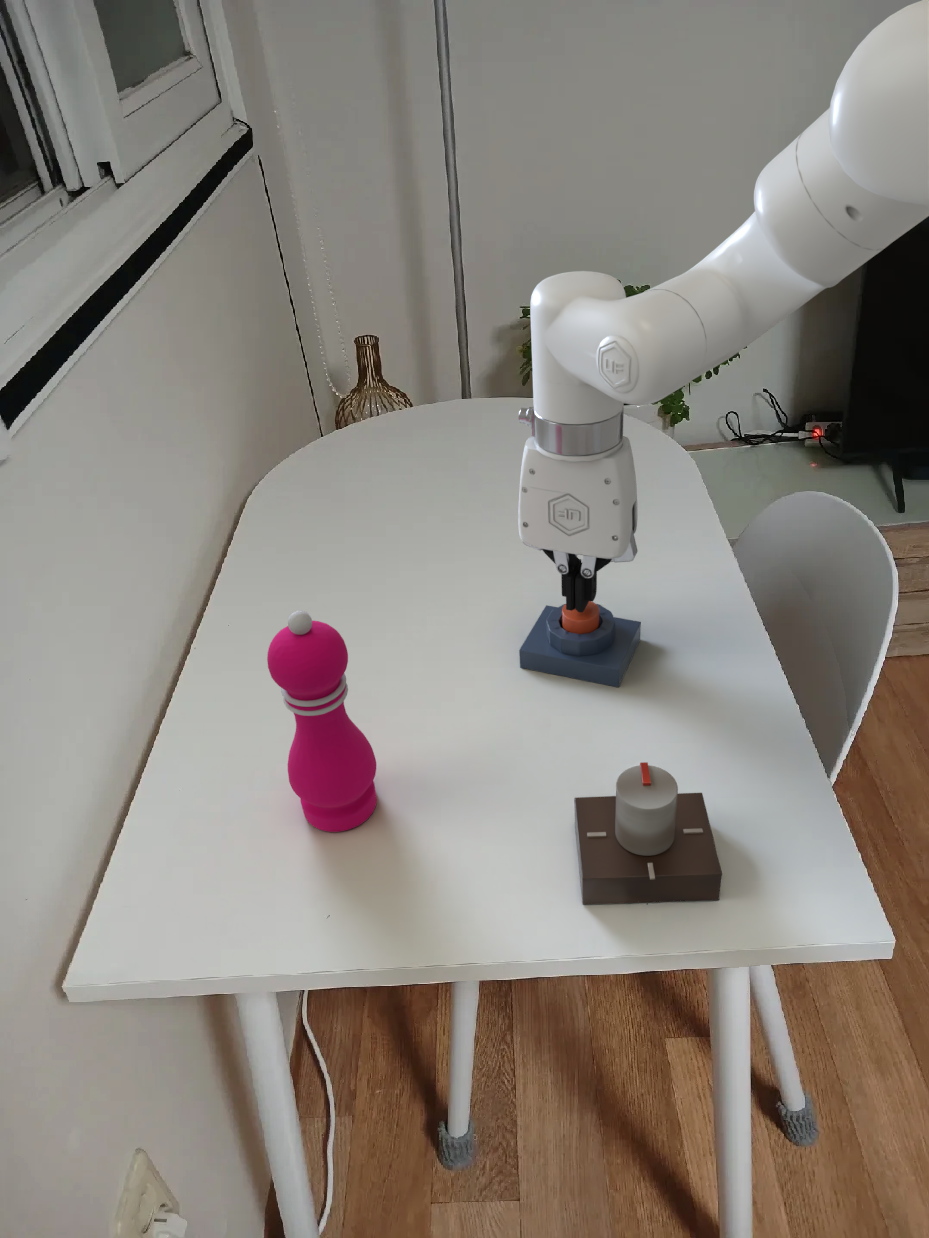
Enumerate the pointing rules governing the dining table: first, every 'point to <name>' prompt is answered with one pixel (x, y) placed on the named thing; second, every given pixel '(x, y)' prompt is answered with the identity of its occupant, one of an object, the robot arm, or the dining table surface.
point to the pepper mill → (322, 726)
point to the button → (581, 619)
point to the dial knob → (645, 809)
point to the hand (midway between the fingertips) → (579, 603)
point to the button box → (581, 648)
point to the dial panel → (646, 857)
